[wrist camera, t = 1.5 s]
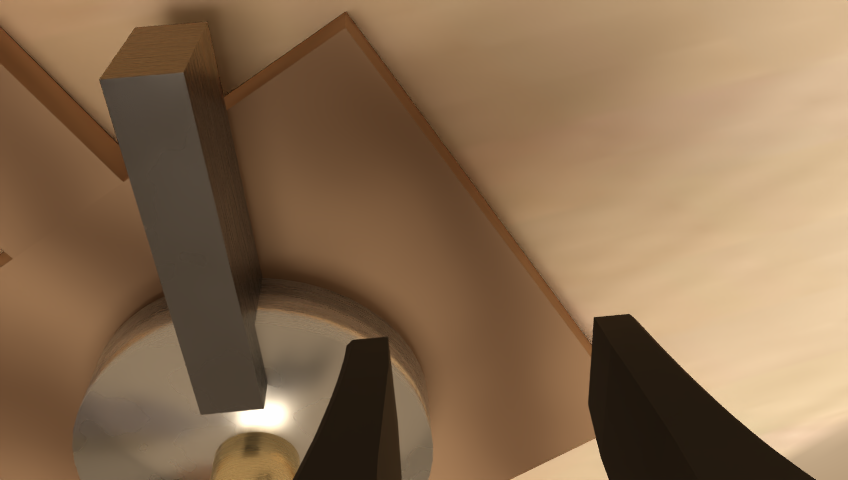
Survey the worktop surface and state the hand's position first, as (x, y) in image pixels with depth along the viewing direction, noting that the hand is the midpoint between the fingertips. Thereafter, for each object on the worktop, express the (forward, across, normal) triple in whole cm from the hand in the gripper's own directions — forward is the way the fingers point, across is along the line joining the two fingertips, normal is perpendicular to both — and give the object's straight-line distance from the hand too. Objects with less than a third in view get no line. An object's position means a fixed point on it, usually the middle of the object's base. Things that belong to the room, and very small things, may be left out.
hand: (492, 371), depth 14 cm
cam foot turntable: (+8, +6, +4) cm, 11 cm away
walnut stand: (+9, +8, +5) cm, 13 cm away
